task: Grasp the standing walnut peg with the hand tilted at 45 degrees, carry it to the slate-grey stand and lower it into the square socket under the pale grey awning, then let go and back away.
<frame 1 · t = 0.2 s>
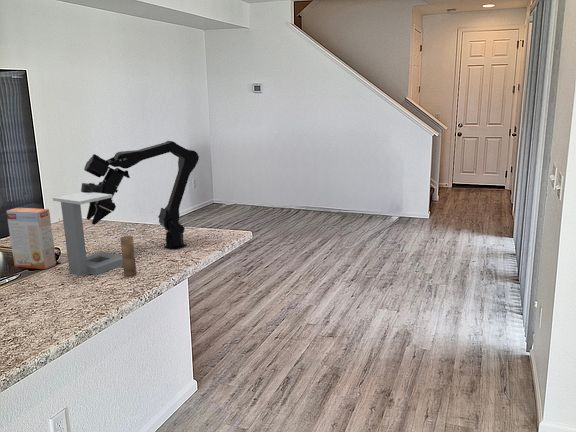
hand: (90, 221, 190), 15 cm above the countertop, tool tilted 35°, fingers open, 9 cm apart
socket stand: (99, 266, 187), on the countertop
walnut peg: (130, 274, 177), on the countertop
cracker box: (35, 266, 189), on the countertop
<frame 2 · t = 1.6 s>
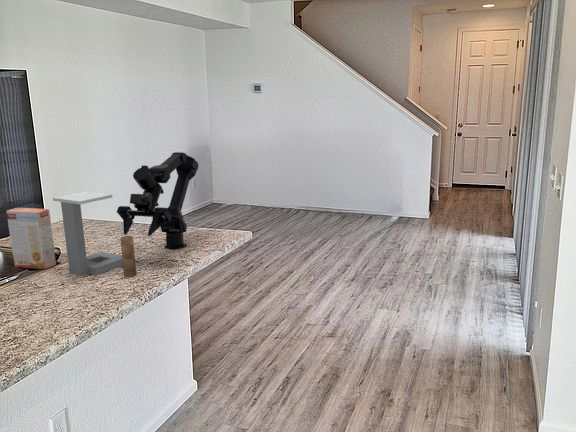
hand: (136, 234, 180), 12 cm above the countertop, tool tilted 45°, fingers open, 9 cm apart
nothing on the countertop moved.
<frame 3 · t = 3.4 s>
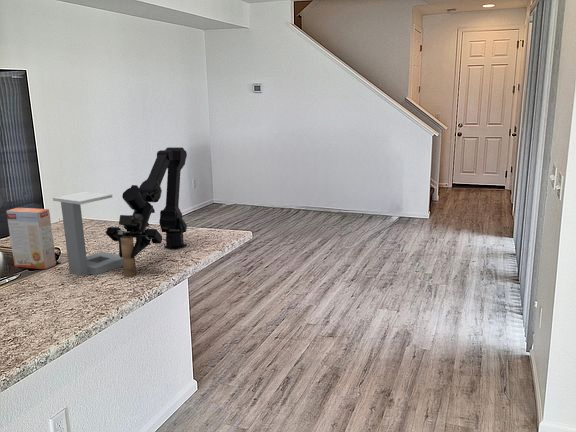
hand: (126, 257, 174), 7 cm above the countertop, tool tilted 45°, fingers closed on walnut peg, 4 cm apart
walnut peg: (130, 274, 177), on the countertop, touching gripper
everything else where it was.
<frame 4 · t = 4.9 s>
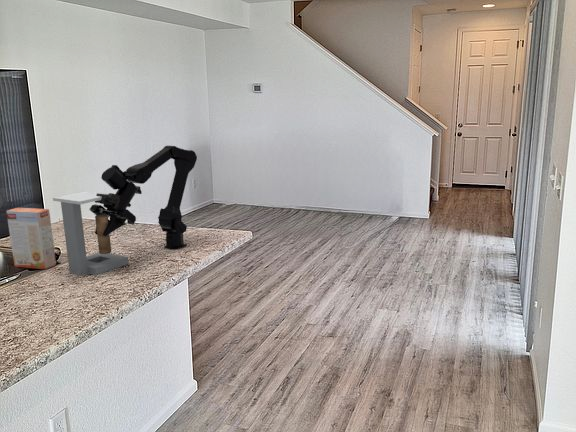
hand: (99, 234, 179), 13 cm above the countertop, tool tilted 45°, fingers closed on walnut peg, 4 cm apart
walnut peg: (105, 252, 181), point 6 cm above the countertop, touching gripper
everything else where it was.
when the fingers open (8 cm above the countertop, at t = 6.8 s): walnut peg drops 2 cm, resting in socket stand.
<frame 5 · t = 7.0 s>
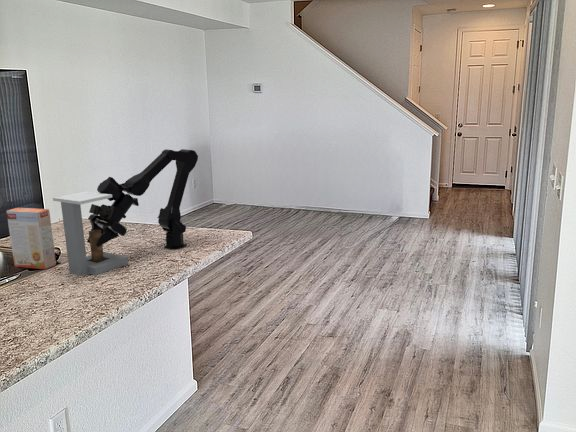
hand: (92, 244, 184), 8 cm above the countertop, tool tilted 45°, fingers open, 6 cm apart
walnut peg: (98, 266, 187), resting in socket stand
everything else where it was.
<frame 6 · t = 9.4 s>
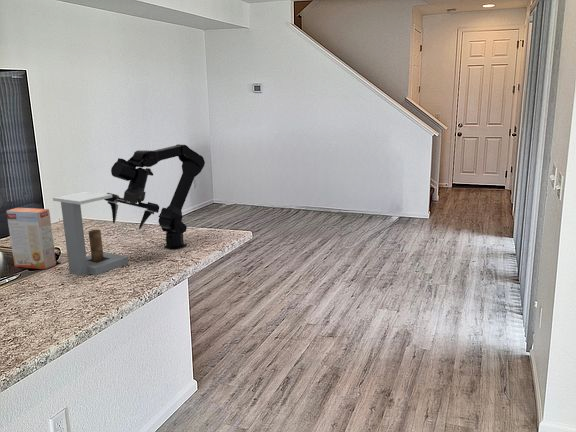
hand: (126, 226, 189), 13 cm above the countertop, tool tilted 25°, fingers open, 9 cm apart
nothing on the countertop moved.
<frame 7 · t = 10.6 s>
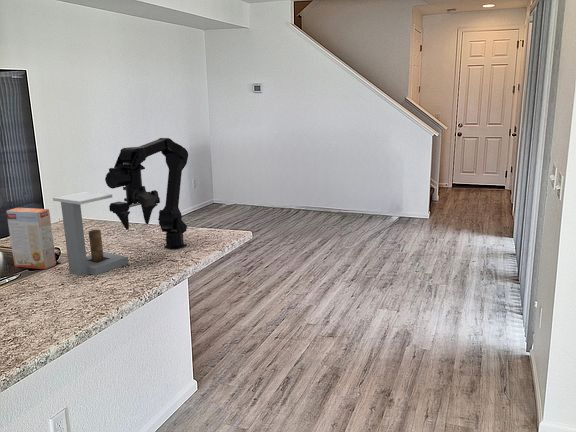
hand: (137, 226, 188), 13 cm above the countertop, tool pointing down, fingers open, 9 cm apart
nothing on the countertop moved.
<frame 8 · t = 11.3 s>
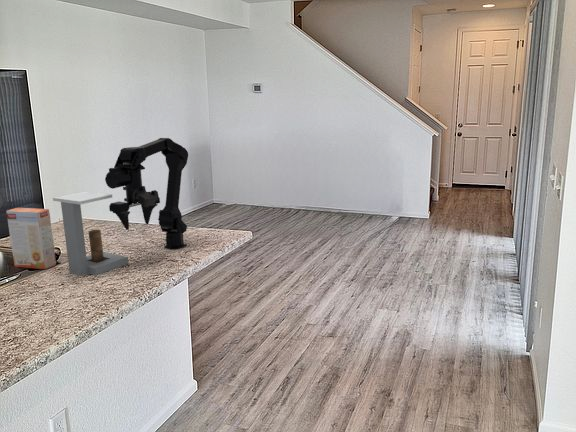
hand: (137, 226, 188), 13 cm above the countertop, tool pointing down, fingers open, 9 cm apart
nothing on the countertop moved.
at the end: walnut peg 0.3 cm off-centre on the socket stand, point 0.0 cm above the socket stand's base; walnut peg tilted 0°; the gripper is holding nothing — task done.
